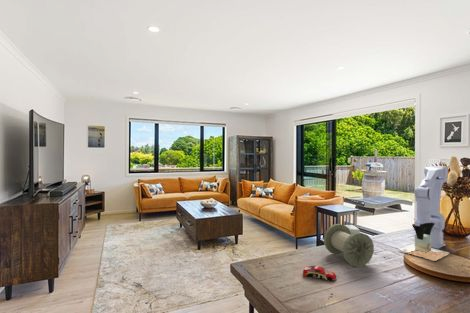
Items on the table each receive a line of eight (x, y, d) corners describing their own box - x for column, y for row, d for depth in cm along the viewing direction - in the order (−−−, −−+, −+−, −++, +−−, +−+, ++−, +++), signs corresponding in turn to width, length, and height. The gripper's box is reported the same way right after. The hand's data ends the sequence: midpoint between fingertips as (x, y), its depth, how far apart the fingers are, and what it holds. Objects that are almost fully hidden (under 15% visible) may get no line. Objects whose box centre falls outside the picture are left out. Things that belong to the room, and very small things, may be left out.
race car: (336, 277, 110) (336, 267, 110) (335, 283, 105) (335, 273, 105) (304, 271, 115) (304, 262, 115) (302, 277, 110) (302, 267, 110)
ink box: (343, 246, 145) (343, 224, 145) (353, 246, 145) (353, 224, 145) (350, 252, 136) (350, 229, 136) (360, 251, 136) (360, 229, 136)
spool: (324, 254, 133) (323, 225, 133) (349, 251, 137) (349, 222, 137) (345, 268, 117) (345, 234, 117) (373, 264, 121) (373, 232, 121)
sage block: (419, 240, 137) (419, 232, 137) (430, 243, 133) (430, 235, 133) (414, 242, 135) (414, 234, 134) (426, 245, 130) (426, 237, 130)
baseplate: (413, 245, 145) (413, 242, 145) (449, 254, 131) (449, 251, 131) (398, 251, 136) (398, 249, 136) (435, 262, 122) (435, 259, 122)
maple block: (419, 248, 137) (419, 240, 137) (430, 251, 133) (430, 243, 133) (415, 250, 134) (415, 242, 134) (426, 253, 130) (426, 245, 130)
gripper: (420, 207, 141) (421, 233, 141) (407, 211, 133) (407, 238, 133) (436, 210, 135) (436, 236, 135) (423, 214, 127) (424, 242, 127)
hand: (423, 237), depth 133 cm, fingers open, 7 cm apart
